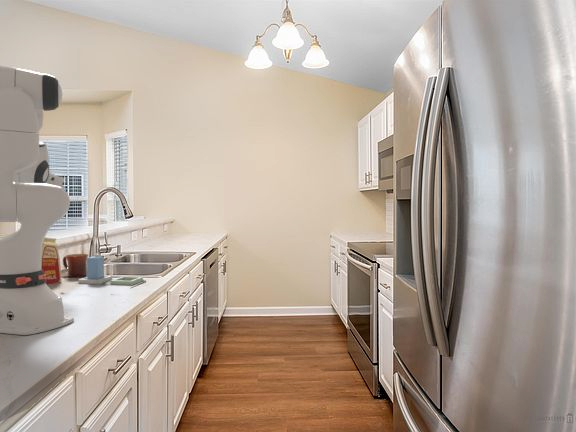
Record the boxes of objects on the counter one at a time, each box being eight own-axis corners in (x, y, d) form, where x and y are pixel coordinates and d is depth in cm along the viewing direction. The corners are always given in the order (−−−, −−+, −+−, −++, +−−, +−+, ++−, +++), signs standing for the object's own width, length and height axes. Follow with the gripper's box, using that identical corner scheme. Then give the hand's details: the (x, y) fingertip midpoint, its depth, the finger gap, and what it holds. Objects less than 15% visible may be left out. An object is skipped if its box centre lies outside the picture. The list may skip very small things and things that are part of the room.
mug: (93, 277, 176) (92, 254, 176) (77, 280, 168) (76, 256, 168) (72, 275, 180) (72, 253, 180) (55, 278, 172) (55, 255, 171)
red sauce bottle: (41, 287, 154) (40, 236, 153) (28, 285, 159) (27, 235, 158) (64, 283, 162) (63, 235, 161) (51, 281, 167) (50, 234, 166)
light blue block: (97, 282, 159) (97, 255, 159) (87, 282, 159) (86, 254, 159) (104, 280, 164) (103, 253, 163) (93, 280, 164) (93, 253, 164)
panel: (146, 282, 165) (146, 276, 164) (130, 288, 153) (130, 282, 153) (93, 280, 168) (93, 274, 168) (74, 286, 156) (74, 280, 156)
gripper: (0, 178, 146) (3, 207, 153) (62, 187, 153) (62, 215, 160) (6, 169, 151) (8, 198, 158) (66, 178, 158) (66, 206, 165)
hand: (36, 207), depth 159 cm, fingers open, 8 cm apart
